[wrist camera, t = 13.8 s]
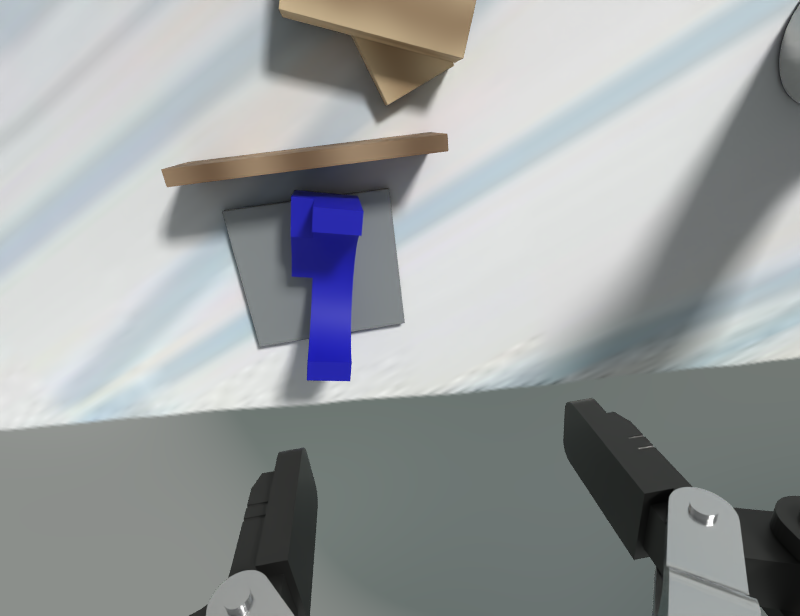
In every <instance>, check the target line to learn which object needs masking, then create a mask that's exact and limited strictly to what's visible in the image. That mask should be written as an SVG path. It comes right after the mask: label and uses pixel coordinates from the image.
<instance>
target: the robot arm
mask: <svg viewBox="0 0 800 616" xmlns="http://www.w3.org/2000/svg"><path fill="white" fill-rule="evenodd" d="M779 69H780V77H781V81H782V85H783V86H784V88H785V90H786V92H787V94H788V95H789V96H790V97H791V98H792V99H793V100H794V101H796V102H798V103H800V4H799V6H798V7H797V9H796V11H795V12H794V14H793V16H792V18H791V20H790V22H789V24H788V26H787V29H786V31H785V34H784V38H783V41H782V44H781V50H780V57H779ZM563 441H564V448H565V452H566V455H567V458H568V460H569V462H570V463H571V465H572V466H573V468H574V469H575V471H576V472H577V474H578V475H579V477H580V479H581V480H582V481H583V483H584V485H585V486H586V487H587V489H588V490H589V492H590V494H591V495H592V497H593V498H594V500H595V501H596V503H597V504H598V506H599V507H600V509H601V510H602V512H603V513H604V515H605V517H606V518H607V520H608V521H609V523H610V524H611V526H612V527H613V529H614V530H615V532H616V533H617V535H618V536H619V538H620V539H621V541H622V542H623V544H624V545H625V547H626V548H627V550H628V551H629V553H630V555H631V556H632V557H633V559H634V560H635V559H640V558H645V557H650V558H651V559H652V561H653V562H654V564H655V565H656V568H655V574H654V592H653V609H652V616H761V611H760V607H762V609H763V610H764V611H765V612H766V614H767V615H768V616H800V496H788V497H783V498H781V499H780V500H779V501H777V503H776V505H775V508H774V511H761V510H751V509H741V508H733V507H732V506H731V505H730V504H729V503H728V502H726V501H725V500H724V499H722V498H721V497H720V496H718V495H716V494H714V493H712V492H710V491H707V490H704V489H700V488H695V487H692V486H691V485H690V484H689V483H688V482H687V481H686V480H685V478H684V477H683V476H682V475H681V474H680V473H679V472H678V471H677V470H676V469H675V468H674V467H673V466H672V465H671V464H670V463H669V462H668V460H666V458H665V457H664V456H663V455H662V454H661V453H660V452H659V451H658V450H657V449H656V448H654V447H653V445H652V444H651V443H650V441H649V440H648V439H647V438H646V437H643V434H642V433H641V432H640V431H639V430H638V429H637V428H636V427H635V426H634V425H633V424H632V423H631V422H630V421H629V420H627V419H625V418H623V417H622V416H620V415H618V414H617V413H615V412H611V413H606V412H605V411H604V410H603V408H602V407H601V406H600V405H599V404H598V403H597V402H596V401H595V400H594V399H592V398H589V399H584V400H578V401H572V402H568V403H566V406H565V419H564V439H563ZM317 500H318V499H317V490H316V485H315V481H314V477H313V473H312V470H311V466H310V463H309V459H308V455H307V452H306V449H305V448H300V449H293V450H288V451H282V452H279V453H278V457H277V461H276V466H275V471H273V472H267V473H262V474H261V476H260V477H259V479H258V480H257V482H256V483H255V484H254V486H253V487H252V489H251V492H250V497H249V500H248V504H247V509H246V512H245V516H244V522H243V524H242V527H241V531H240V535H239V539H238V543H237V548H236V551H235V555H234V559H233V563H232V567H231V570H230V574H229V577H228V579H226V580H225V581H224V582H223V583H222V584H221V585H220V586H219V587H218V588H217V589H216V591H215V592H214V593H213V595H212V597H211V598H210V601H209V603H208V604H207V605H206V606H205V607H203V608H202V609H201V610H199V611H197V612H195V613H193V614H192V615H189V616H310V606H311V592H312V577H313V564H314V550H315V535H316V522H317V508H318V501H317Z"/></svg>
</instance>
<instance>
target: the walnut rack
mask: <svg viewBox="0 0 800 616" xmlns="http://www.w3.org/2000/svg"><path fill="white" fill-rule="evenodd" d="M445 151H448V136H447V134H444V133H433V132H428V133H420V134H412V135H404V136H396V137H387V138H379V139H371V140H363V141H355V142H347V143H339V144H331V145H323V146H315V147H307V148H299V149H290V150H282V151H274V152H266V153H258V154H250V155H242V156H234V157H226V158H218V159H210V160H201V161H193V162H187V163H183V164H179V165H176V166H172V167H168V168H165V169H161V170H162V173H163V176H164V180H165V183H166V186H167V187H172V186H180V185H188V184H195V183H203V182H211V181H219V180H227V179H234V178H242V177H250V176H258V175H266V174H273V173H281V172H289V171H297V170H305V169H312V168H320V167H328V166H336V165H344V164H351V163H359V162H367V161H375V160H383V159H390V158H398V157H406V156H414V155H422V154H429V153H437V152H445Z"/></svg>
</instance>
